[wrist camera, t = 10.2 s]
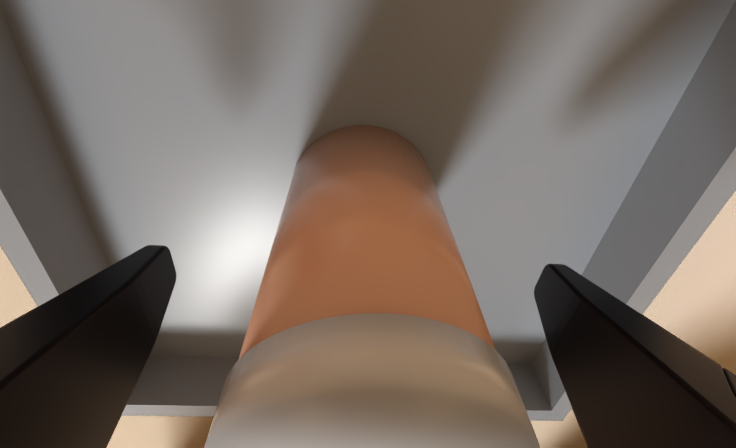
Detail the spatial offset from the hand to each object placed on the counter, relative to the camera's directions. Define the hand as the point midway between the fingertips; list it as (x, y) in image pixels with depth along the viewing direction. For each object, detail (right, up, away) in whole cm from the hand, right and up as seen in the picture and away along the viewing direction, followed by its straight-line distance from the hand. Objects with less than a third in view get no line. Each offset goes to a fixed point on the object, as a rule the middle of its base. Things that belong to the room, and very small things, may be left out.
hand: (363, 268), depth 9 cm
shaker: (0, +2, +3) cm, 4 cm away
